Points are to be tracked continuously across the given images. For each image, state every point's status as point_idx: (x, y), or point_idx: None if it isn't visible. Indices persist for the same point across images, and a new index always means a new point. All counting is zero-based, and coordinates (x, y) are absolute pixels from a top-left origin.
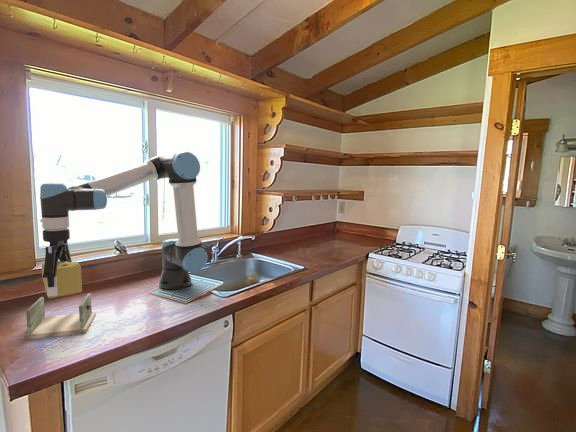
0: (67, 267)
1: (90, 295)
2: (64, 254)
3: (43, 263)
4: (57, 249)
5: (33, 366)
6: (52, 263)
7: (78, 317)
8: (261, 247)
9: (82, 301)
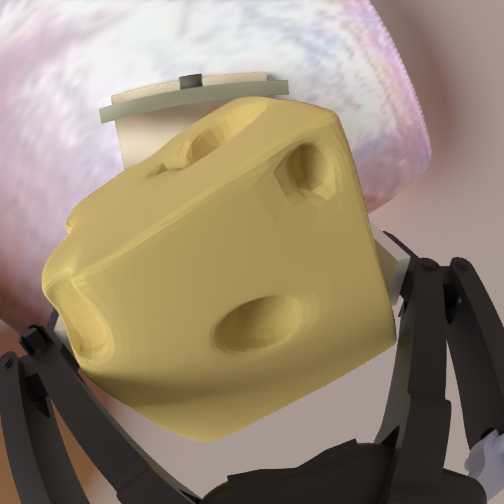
0: (372, 251)
1: (111, 105)
2: (147, 461)
3: (208, 440)
4: (461, 485)
5: (399, 150)
6: (500, 329)
7: (156, 136)
8: None
9: (224, 97)
